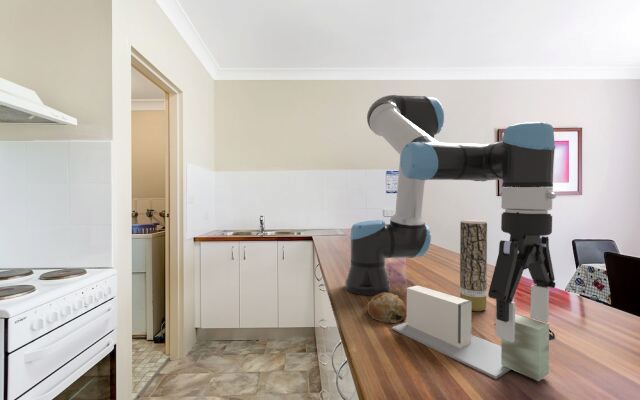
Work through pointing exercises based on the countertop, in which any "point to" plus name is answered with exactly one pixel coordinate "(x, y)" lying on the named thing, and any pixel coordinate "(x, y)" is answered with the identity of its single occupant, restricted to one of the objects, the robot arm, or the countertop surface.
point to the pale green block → (527, 348)
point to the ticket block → (449, 330)
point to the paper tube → (473, 262)
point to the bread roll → (387, 308)
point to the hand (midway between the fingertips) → (523, 328)
